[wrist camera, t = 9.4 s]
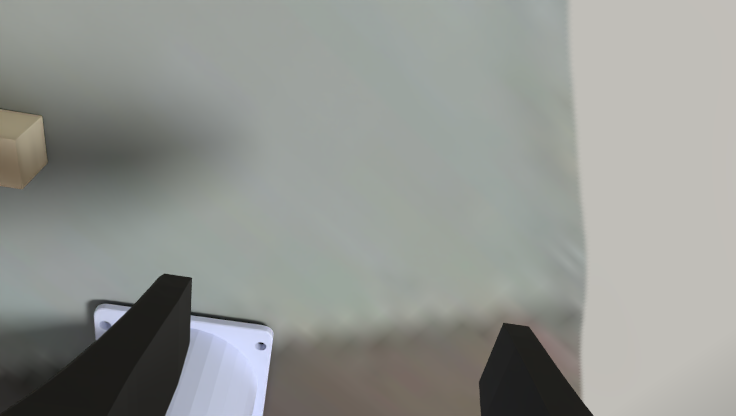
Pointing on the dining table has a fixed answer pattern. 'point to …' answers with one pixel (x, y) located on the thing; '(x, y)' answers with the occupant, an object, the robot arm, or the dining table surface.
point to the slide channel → (21, 148)
